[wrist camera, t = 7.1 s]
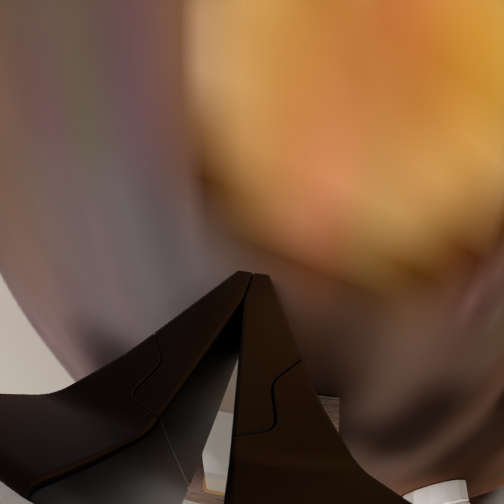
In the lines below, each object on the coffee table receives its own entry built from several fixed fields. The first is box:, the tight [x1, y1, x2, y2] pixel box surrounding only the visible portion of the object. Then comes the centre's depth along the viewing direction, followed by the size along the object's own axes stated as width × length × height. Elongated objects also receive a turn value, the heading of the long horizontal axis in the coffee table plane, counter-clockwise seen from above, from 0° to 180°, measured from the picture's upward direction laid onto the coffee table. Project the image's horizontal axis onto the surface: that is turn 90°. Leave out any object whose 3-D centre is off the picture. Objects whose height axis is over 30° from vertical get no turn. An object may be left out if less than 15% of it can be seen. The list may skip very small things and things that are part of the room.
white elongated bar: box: [202, 360, 238, 496], centre depth 15 cm, size 16×3×3 cm, turn 175°
